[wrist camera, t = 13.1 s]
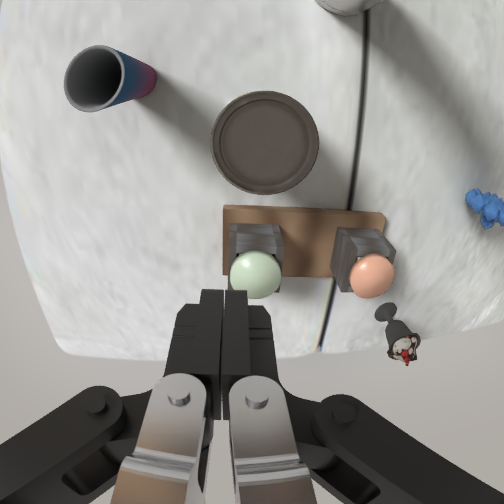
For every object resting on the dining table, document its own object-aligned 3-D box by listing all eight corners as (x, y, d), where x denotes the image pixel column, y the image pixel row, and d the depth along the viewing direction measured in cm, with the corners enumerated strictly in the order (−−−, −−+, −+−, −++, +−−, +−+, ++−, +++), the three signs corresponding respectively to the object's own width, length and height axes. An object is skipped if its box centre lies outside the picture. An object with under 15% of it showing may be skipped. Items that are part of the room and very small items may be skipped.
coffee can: (235, 81, 37) (232, 75, 25) (306, 108, 39) (336, 116, 27) (209, 149, 41) (196, 175, 29) (278, 173, 44) (293, 209, 31)
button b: (333, 269, 48) (347, 298, 41) (341, 232, 45) (357, 258, 38) (370, 270, 48) (387, 297, 42) (379, 234, 45) (399, 259, 38)
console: (223, 268, 51) (220, 302, 43) (223, 204, 46) (220, 231, 38) (367, 270, 52) (385, 302, 44) (381, 212, 47) (405, 238, 39)
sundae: (371, 302, 56) (400, 359, 43) (402, 296, 56) (435, 349, 43) (368, 327, 59) (393, 383, 46) (397, 320, 59) (426, 373, 46)
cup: (160, 103, 38) (121, 111, 25) (115, 103, 37) (62, 114, 24) (165, 57, 34) (128, 42, 21) (119, 58, 34) (66, 49, 21)
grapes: (444, 211, 47) (484, 242, 37) (454, 175, 44) (498, 201, 33) (484, 219, 48) (521, 249, 38) (494, 188, 45) (534, 213, 34)
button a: (230, 267, 47) (229, 298, 40) (231, 229, 44) (230, 255, 37) (273, 268, 47) (278, 299, 41) (277, 230, 44) (283, 257, 38)
